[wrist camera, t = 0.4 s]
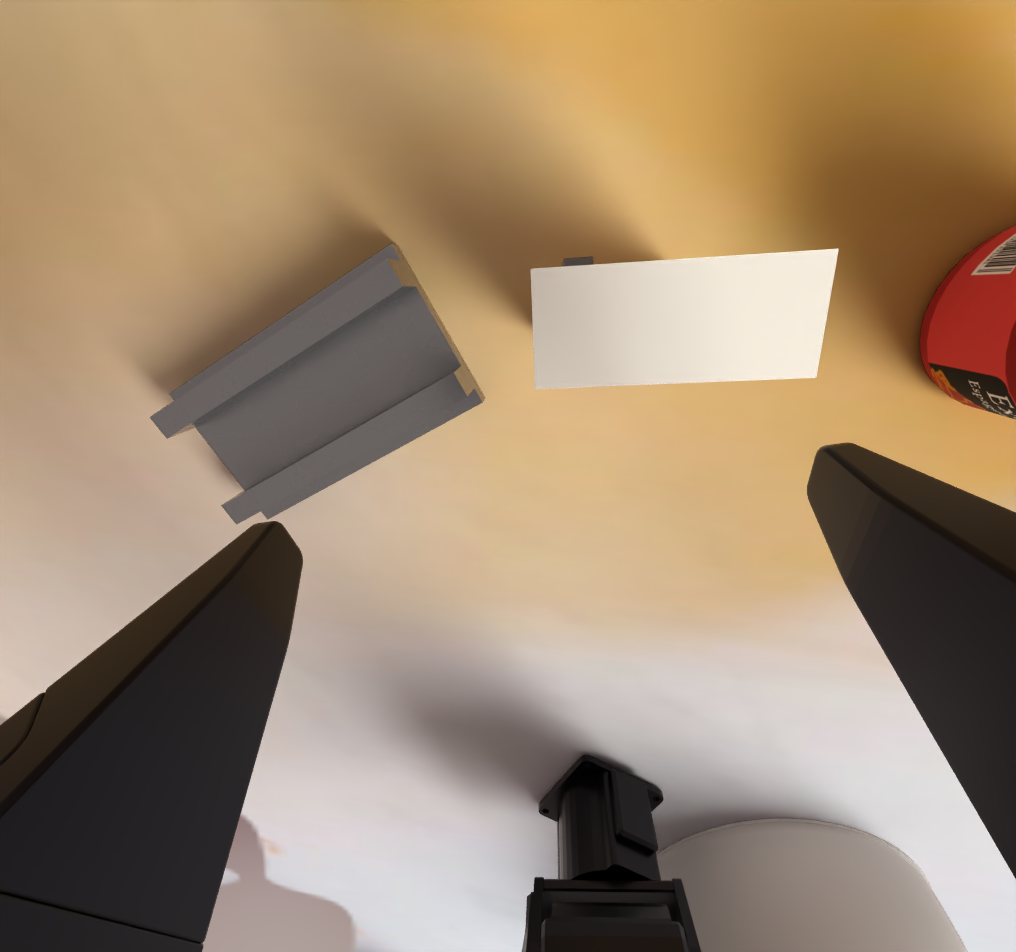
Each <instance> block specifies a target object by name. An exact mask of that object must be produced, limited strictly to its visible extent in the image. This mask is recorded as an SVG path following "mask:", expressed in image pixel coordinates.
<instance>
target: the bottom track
mask: <svg viewBox="0 0 1016 952" xmlns="http://www.w3.org/2000/svg"><path fill="white" fill-rule="evenodd" d="M170 396H171V397H172V398H173V400H174V401H173V402H172V403H170V404H169V405H167V406H166V407H164V408H163V409H161V410H160V411H158V412H157V413H155V414H154V415H152V416H151V417H150V418H151V420H152V421H153V422H154V423H155V425H156V426H157V427H158V428H159V430H160V431H161V432H162V433H163V434H164V436H165V437H166V438H170V437H172V436H175V435H178V434H180V433H183V432H185V431H188V430H190V429H193V428H196V429H197V430H198V431H199V433H200V434H201V435H202V436H203V438H204V439H205V440H206V442H207V443H208V444H209V445H210V447H211V448H212V449H213V450H214V452H215V453H216V454H217V456H218V457H219V458H220V459H221V461H222V462H223V463H224V465H225V466H226V467H227V468H228V470H229V471H230V472H231V473H232V475H233V476H234V477H235V479H236V480H237V481H238V482H239V484H240V485H241V486H242V487H243V489H244V491H243V492H241V493H240V494H238V495H237V496H235V497H234V498H232V499H230V500H229V501H227V502H226V503H224V504H223V505H221V506H222V507H223V508H224V510H225V511H226V512H227V513H228V515H229V516H230V517H231V518H232V519H233V521H234V522H235V523H236V524H238V523H240V522H242V521H244V520H246V519H247V518H249V517H251V516H253V515H255V514H256V513H258V512H260V511H261V512H262V513H263V514H264V515H265V517H266V518H267V519H269V518H271V517H273V516H275V515H277V514H279V513H280V512H282V511H284V510H286V509H288V508H290V507H291V506H293V505H295V504H297V503H299V502H301V501H303V500H304V499H306V498H308V497H310V496H312V495H314V494H315V493H317V492H319V491H321V490H323V489H325V488H326V487H328V486H330V485H332V484H334V483H336V482H337V481H339V480H341V479H343V478H345V477H347V476H348V475H350V474H352V473H354V472H356V471H358V470H359V469H361V468H363V467H365V466H367V465H369V464H370V463H372V462H374V461H376V460H378V459H380V458H381V457H383V456H385V455H387V454H389V453H391V452H392V451H394V450H396V449H398V448H400V447H402V446H403V445H405V444H407V443H409V442H411V441H413V440H414V439H416V438H418V437H420V436H422V435H424V434H425V433H427V432H429V431H431V430H433V429H435V428H436V427H438V426H440V425H442V424H444V423H446V422H447V421H449V420H451V419H453V418H455V417H457V416H458V415H460V414H462V413H464V412H466V411H468V410H470V409H471V408H473V407H475V406H477V405H479V404H481V403H482V402H483V401H484V399H485V397H484V395H483V393H482V391H481V390H480V388H479V386H478V384H477V383H476V381H475V379H474V377H473V376H472V374H471V372H470V370H469V369H468V367H467V365H466V363H465V362H464V360H463V358H462V357H461V355H460V353H459V351H458V350H457V348H456V346H455V344H454V343H453V341H452V339H451V337H450V336H449V334H448V332H447V330H446V329H445V327H444V325H443V323H442V322H441V320H440V318H439V316H438V315H437V313H436V311H435V309H434V308H433V306H432V304H431V303H430V301H429V299H428V297H427V296H426V294H425V292H424V290H423V289H422V287H421V285H420V283H419V282H418V280H417V278H416V276H415V275H414V273H413V271H412V269H411V268H410V266H409V264H408V262H407V261H406V259H405V257H404V255H403V254H402V252H401V250H400V248H399V247H398V245H394V244H390V245H388V246H387V247H385V248H384V249H382V250H381V251H379V252H378V253H376V254H375V255H374V256H372V257H371V258H369V259H368V260H366V261H365V262H363V263H362V264H360V265H359V266H357V267H356V268H354V269H353V270H351V271H350V272H348V273H347V274H345V275H344V276H343V277H341V278H340V279H338V280H337V281H335V282H334V283H332V284H331V285H329V286H328V287H326V288H325V289H323V290H322V291H320V292H319V293H317V294H316V295H314V296H313V297H312V298H310V299H309V300H307V301H306V302H304V303H303V304H301V305H300V306H298V307H297V308H295V309H294V310H292V311H291V312H289V313H288V314H286V315H285V316H283V317H282V318H281V319H279V320H278V321H276V322H275V323H273V324H272V325H270V326H269V327H267V328H266V329H264V330H263V331H261V332H260V333H258V334H257V335H255V336H254V337H252V338H251V339H250V340H248V341H247V342H245V343H244V344H242V345H241V346H239V347H238V348H236V349H235V350H233V351H232V352H230V353H229V354H227V355H226V356H224V357H223V358H221V359H220V360H219V361H217V362H216V363H214V364H213V365H211V366H210V367H208V368H207V369H205V370H204V371H202V372H201V373H199V374H198V375H196V376H195V377H193V378H192V379H190V380H189V381H188V382H186V383H185V384H183V385H182V386H180V387H179V388H177V389H176V390H174V391H173V392H171V393H170Z"/></svg>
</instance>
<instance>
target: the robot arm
mask: <svg viewBox="0 0 1016 952" xmlns="http://www.w3.org/2000/svg"><path fill="white" fill-rule="evenodd" d="M807 495H808V499H809V502H810V505H811V507H812V509H813V512H814V514H815V516H816V518H817V521H818V523H819V525H820V528H821V530H822V532H823V535H824V537H825V539H826V542H827V544H828V546H829V549H830V551H831V553H832V556H833V558H834V560H835V563H836V565H837V567H838V570H839V572H840V574H841V576H842V578H843V580H844V582H845V584H846V586H847V588H848V590H849V592H850V594H851V595H852V597H853V599H854V601H855V602H856V604H857V606H858V608H859V609H860V611H861V613H862V615H863V616H864V618H865V620H866V621H867V623H868V625H869V627H870V628H871V630H872V632H873V634H874V635H875V637H876V639H877V640H878V642H879V644H880V646H881V647H882V649H883V651H884V653H885V654H886V656H887V658H888V659H889V661H890V663H891V665H892V666H893V668H894V670H895V671H896V673H897V675H898V677H899V678H900V680H901V682H902V684H903V685H904V687H905V689H906V690H907V692H908V694H909V696H910V697H911V699H912V701H913V703H914V704H915V706H916V708H917V709H918V711H919V713H920V715H921V716H922V718H923V720H924V722H925V723H926V725H927V727H928V728H929V730H930V732H931V734H932V735H933V737H934V739H935V740H936V742H937V744H938V746H939V747H940V749H941V751H942V753H943V754H944V756H945V758H946V759H947V761H948V763H949V765H950V766H951V768H952V770H953V772H954V773H955V775H956V777H957V778H958V780H959V782H960V784H961V785H962V787H963V789H964V791H965V792H966V794H967V796H968V797H969V799H970V801H971V803H972V804H973V806H974V808H975V809H976V811H977V813H978V815H979V816H980V818H981V820H982V822H983V823H984V825H985V827H986V828H987V830H988V832H989V834H990V835H991V837H992V839H993V841H994V842H995V844H996V846H997V847H998V849H999V851H1000V853H1001V854H1002V856H1003V858H1004V860H1005V861H1006V863H1007V865H1008V866H1009V868H1010V870H1011V872H1012V873H1013V875H1014V877H1015V878H1016V513H1015V512H1013V511H1011V510H1008V509H1006V508H1004V507H1001V506H999V505H996V504H994V503H992V502H989V501H987V500H985V499H982V498H980V497H978V496H975V495H973V494H971V493H968V492H966V491H964V490H961V489H959V488H957V487H954V486H952V485H950V484H947V483H945V482H943V481H940V480H938V479H935V478H933V477H931V476H928V475H926V474H924V473H921V472H919V471H917V470H914V469H912V468H910V467H907V466H905V465H903V464H900V463H898V462H896V461H893V460H891V459H889V458H886V457H884V456H881V455H879V454H877V453H874V452H872V451H870V450H867V449H865V448H863V447H860V446H858V445H856V444H853V443H840V444H833V445H825V446H823V447H821V448H820V449H819V450H818V451H817V453H816V456H815V459H814V463H813V466H812V470H811V474H810V477H809V481H808V485H807ZM302 566H303V558H302V553H301V551H300V549H299V548H298V546H297V545H296V543H295V542H294V540H293V539H292V537H291V536H290V534H289V533H288V532H287V530H286V529H285V527H284V526H283V525H282V524H281V523H279V522H276V521H271V522H264V523H258V524H255V525H253V526H251V527H250V528H249V529H247V530H246V531H245V532H244V533H242V534H241V535H240V536H239V537H237V538H236V539H235V540H233V541H232V542H231V543H230V544H228V545H227V546H226V547H225V548H223V549H222V550H221V551H220V552H218V553H217V554H216V555H215V556H213V557H212V558H211V559H210V560H208V561H207V562H206V563H205V564H203V565H202V566H201V567H199V568H198V569H197V570H196V571H194V572H193V573H192V574H191V575H189V576H188V577H187V578H186V579H184V580H183V581H182V582H181V583H179V584H178V585H177V586H176V587H174V588H173V589H172V590H170V591H169V592H168V593H167V594H165V595H164V596H163V597H162V598H160V599H159V600H158V601H157V602H155V603H154V604H153V605H152V606H150V607H149V608H148V609H147V610H145V611H144V612H143V613H142V614H140V615H139V616H138V617H136V618H135V619H134V620H133V621H131V622H130V623H129V624H128V625H126V626H125V627H124V628H123V629H121V630H120V631H119V632H118V633H116V634H115V635H114V636H113V637H111V638H110V639H109V640H107V641H106V642H105V643H104V644H102V645H101V646H100V647H99V648H97V649H96V650H95V651H94V652H92V653H91V654H90V655H89V656H87V657H86V658H85V659H84V660H82V661H81V662H80V663H78V664H77V665H76V666H75V667H73V668H72V669H71V670H70V671H68V672H67V673H66V674H65V675H63V676H62V677H61V678H60V679H58V680H57V681H56V682H55V683H53V684H52V685H51V686H50V687H48V688H47V690H46V692H45V693H41V694H39V695H38V696H37V697H35V698H34V699H33V700H32V701H30V702H29V703H28V704H27V705H25V706H24V707H23V708H22V709H20V710H19V711H18V712H17V713H15V714H14V715H13V716H12V717H10V718H9V719H8V720H6V721H5V722H4V723H2V725H0V952H202V949H203V942H204V940H205V938H206V934H207V931H208V927H209V924H210V920H211V917H212V913H213V909H214V906H215V902H216V899H217V895H218V892H219V888H220V885H221V881H222V878H223V874H224V871H225V867H226V863H227V860H228V857H229V853H230V849H231V846H232V842H233V839H234V835H235V832H236V828H237V824H238V821H239V818H240V814H241V811H242V807H243V804H244V800H245V797H246V793H247V789H248V786H249V782H250V779H251V775H252V772H253V768H254V765H255V761H256V758H257V754H258V751H259V747H260V744H261V740H262V737H263V733H264V729H265V726H266V722H267V719H268V715H269V712H270V708H271V705H272V701H273V698H274V694H275V691H276V687H277V684H278V680H279V677H280V673H281V669H282V666H283V662H284V659H285V655H286V651H287V648H288V644H289V639H290V634H291V630H292V624H293V618H294V612H295V606H296V601H297V595H298V589H299V583H300V577H301V571H302ZM662 801H663V794H662V791H661V790H660V789H658V788H656V787H654V786H652V785H650V784H648V783H645V782H643V781H641V780H639V779H637V778H635V777H633V776H631V775H629V774H627V773H625V772H623V771H620V770H618V769H616V768H614V767H612V766H610V765H608V764H606V763H604V762H602V761H600V760H597V759H595V758H593V757H591V756H588V755H585V756H582V757H581V758H580V759H579V760H578V761H577V762H576V763H575V764H574V765H573V767H572V768H571V769H570V770H569V771H568V772H567V773H566V774H565V775H564V777H563V778H562V779H561V780H560V781H559V782H558V783H557V784H556V785H555V786H554V788H553V789H552V790H551V791H550V792H549V793H548V794H547V795H546V796H545V798H544V799H543V800H542V801H541V802H540V803H539V813H540V814H542V815H543V816H546V817H548V818H550V819H552V820H554V821H556V822H557V830H558V879H544V877H535V880H534V892H531V894H530V895H528V896H527V910H526V929H525V936H524V942H523V948H522V952H701V949H700V945H699V941H698V938H697V934H696V930H695V927H694V923H693V919H692V916H691V912H690V909H689V905H688V901H687V898H686V894H685V890H684V887H683V883H682V880H681V878H672V880H661V876H660V871H659V866H658V860H657V855H656V851H657V850H658V845H657V839H656V834H655V829H654V824H653V819H652V813H651V812H652V811H653V810H654V809H655V808H656V807H657V806H658V805H659V804H660V803H661V802H662Z"/></svg>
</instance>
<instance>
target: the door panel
mask: <svg viewBox="0 0 1016 952" xmlns="http://www.w3.org/2000/svg"><path fill="white" fill-rule="evenodd" d="M838 250H839V249H825V250H809V251H794V252H779V253H763V254H748V255H733V256H717V257H702V258H687V259H671V260H656V261H641V262H625V263H610V264H595V265H593V257H580V258H565V259H564V260H563V262H562V267H549V268H533V269H531V294H532V321H533V349H534V376H535V389H551V388H576V387H600V386H625V385H649V384H674V383H698V382H723V381H747V380H772V379H797V378H816V376H817V370H818V364H819V359H820V353H821V347H822V342H823V336H824V330H825V325H826V319H827V313H828V307H829V302H830V296H831V290H832V285H833V279H834V273H835V267H836V262H837V256H838Z"/></svg>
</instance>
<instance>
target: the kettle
mask: <svg viewBox="0 0 1016 952" xmlns="http://www.w3.org/2000/svg"><path fill="white" fill-rule="evenodd" d="M657 860H658V866H659V871H660V876H661V880H672V878H681V880H682V883H683V887H684V890H685V894H686V898H687V901H688V905H689V909H690V912H691V916H692V919H693V923H694V927H695V930H696V934H697V938H698V941H699V945H700V949H701V952H968V951H967V949H966V947H965V945H964V943H963V942H962V940H961V938H960V936H959V934H958V933H957V931H956V929H955V927H954V926H953V924H952V922H951V920H950V919H949V917H948V915H947V913H946V912H945V910H944V908H943V907H942V905H941V903H940V902H939V900H938V899H937V897H936V895H935V894H934V892H933V890H932V888H931V886H930V884H929V882H928V880H927V878H926V877H925V875H924V874H923V872H922V871H921V869H920V868H919V867H918V866H917V865H916V864H915V862H914V861H913V860H911V859H910V858H909V857H908V856H907V855H906V854H905V853H903V852H902V851H901V850H899V849H898V848H896V847H895V846H893V845H891V844H890V843H888V842H886V841H884V840H882V839H880V838H878V837H876V836H873V835H871V834H869V833H866V832H863V831H860V830H857V829H854V828H851V827H847V826H843V825H839V824H834V823H829V822H823V821H816V820H807V819H787V818H779V819H759V820H750V821H743V822H737V823H731V824H727V825H722V826H718V827H714V828H711V829H708V830H705V831H702V832H699V833H696V834H693V835H691V836H688V837H686V838H684V839H682V840H680V841H678V842H676V843H674V844H672V845H670V846H669V847H667V848H665V849H664V850H662V851H661V852H659V853H658V854H657Z"/></svg>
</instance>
